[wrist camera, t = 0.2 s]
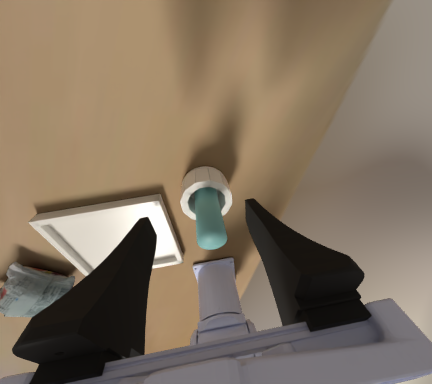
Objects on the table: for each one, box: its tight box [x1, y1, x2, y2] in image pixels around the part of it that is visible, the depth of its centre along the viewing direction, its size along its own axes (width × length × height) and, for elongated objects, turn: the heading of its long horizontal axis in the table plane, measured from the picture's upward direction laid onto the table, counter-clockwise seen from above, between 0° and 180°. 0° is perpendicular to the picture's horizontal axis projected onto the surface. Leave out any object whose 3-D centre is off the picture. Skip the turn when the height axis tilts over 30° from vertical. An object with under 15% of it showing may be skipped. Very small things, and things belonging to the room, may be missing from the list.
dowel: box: [194, 187, 227, 250], centre depth 19 cm, size 3×3×8 cm
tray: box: [28, 194, 183, 276], centre depth 26 cm, size 14×16×2 cm
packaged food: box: [0, 262, 75, 317], centre depth 28 cm, size 9×12×5 cm
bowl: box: [180, 166, 232, 220], centre depth 22 cm, size 6×6×4 cm
